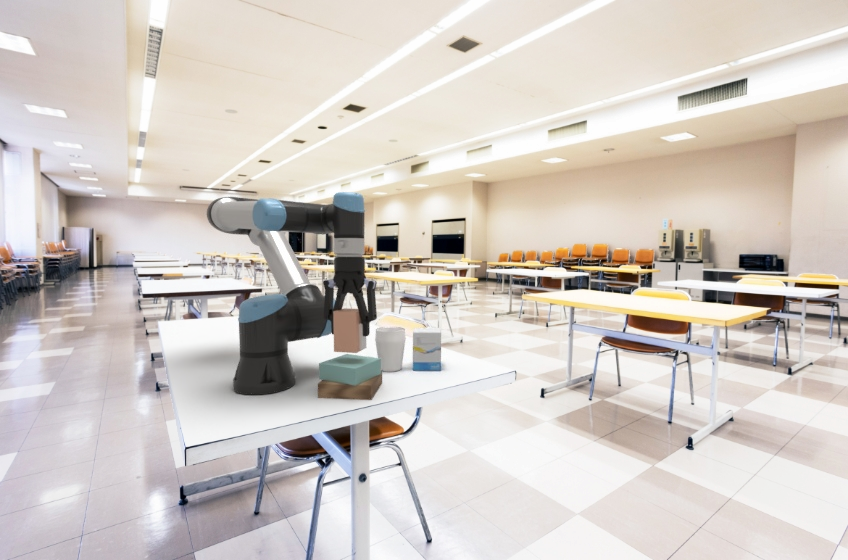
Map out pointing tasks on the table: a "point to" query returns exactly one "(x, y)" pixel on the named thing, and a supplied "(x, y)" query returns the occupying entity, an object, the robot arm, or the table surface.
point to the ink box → (427, 349)
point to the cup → (390, 347)
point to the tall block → (346, 330)
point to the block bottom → (350, 389)
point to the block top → (350, 369)
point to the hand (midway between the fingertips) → (350, 347)
